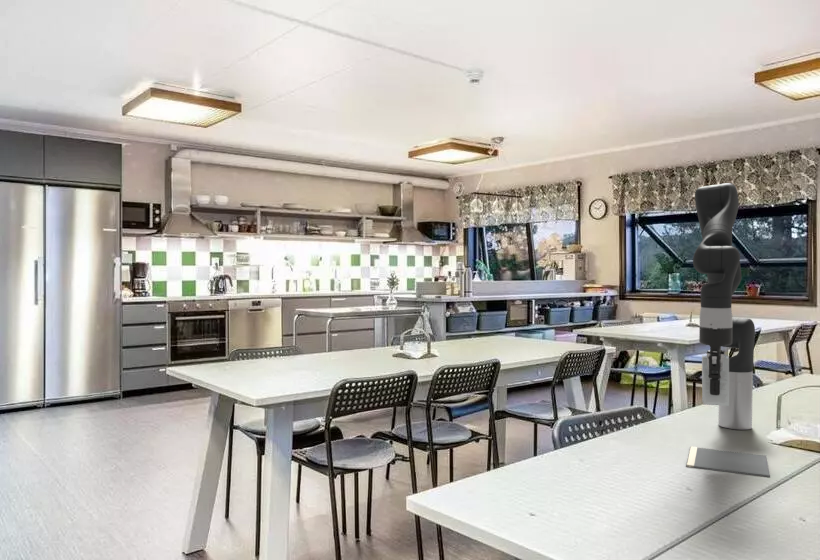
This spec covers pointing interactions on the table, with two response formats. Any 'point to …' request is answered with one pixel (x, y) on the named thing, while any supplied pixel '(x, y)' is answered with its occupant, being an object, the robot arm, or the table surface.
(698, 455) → the mat
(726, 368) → the skincare box
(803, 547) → the table surface
